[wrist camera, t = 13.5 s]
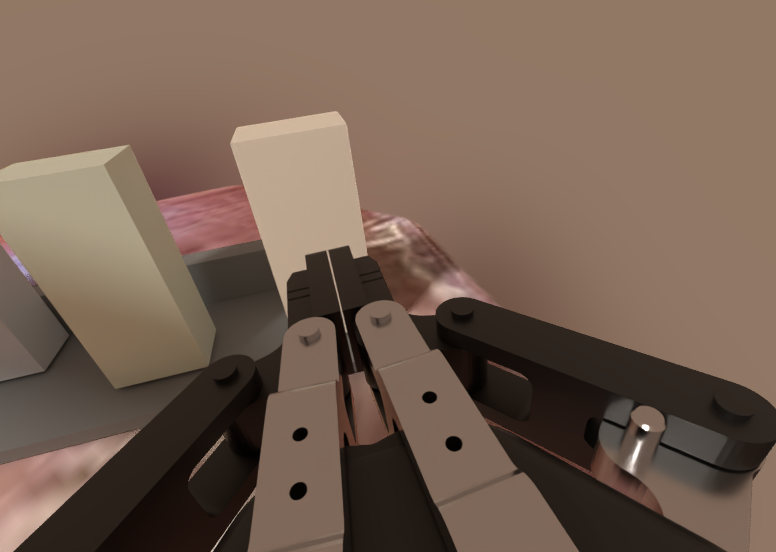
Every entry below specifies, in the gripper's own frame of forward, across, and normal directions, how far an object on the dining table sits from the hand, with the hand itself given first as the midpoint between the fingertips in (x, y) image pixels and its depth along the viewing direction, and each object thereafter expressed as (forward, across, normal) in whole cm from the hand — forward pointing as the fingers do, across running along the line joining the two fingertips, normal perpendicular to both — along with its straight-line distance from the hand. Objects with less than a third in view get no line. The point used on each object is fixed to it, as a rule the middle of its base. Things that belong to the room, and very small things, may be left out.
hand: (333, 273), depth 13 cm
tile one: (+12, -1, -11) cm, 17 cm away
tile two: (+12, -13, -11) cm, 21 cm away
